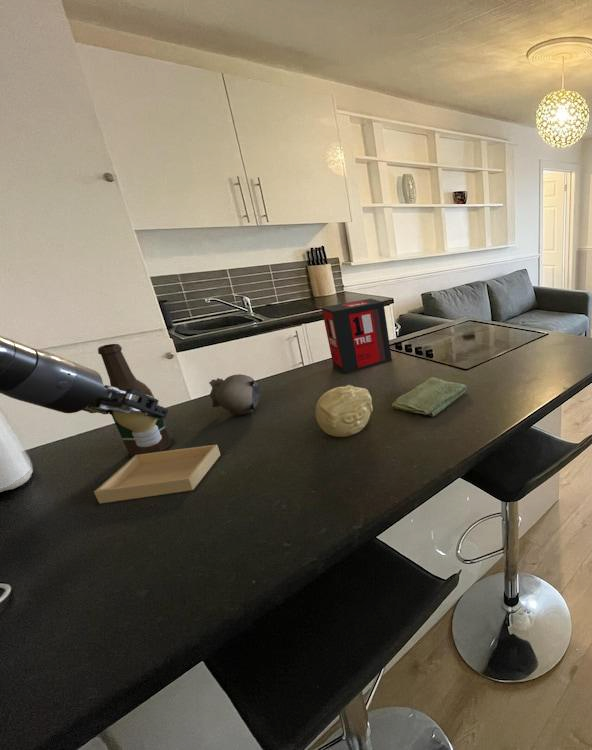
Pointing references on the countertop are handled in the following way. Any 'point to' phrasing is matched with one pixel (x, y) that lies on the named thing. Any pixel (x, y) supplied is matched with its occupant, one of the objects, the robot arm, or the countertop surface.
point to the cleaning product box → (357, 334)
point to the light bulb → (140, 427)
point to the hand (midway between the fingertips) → (148, 414)
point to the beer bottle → (123, 381)
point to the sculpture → (344, 410)
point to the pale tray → (158, 474)
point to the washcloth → (430, 397)
